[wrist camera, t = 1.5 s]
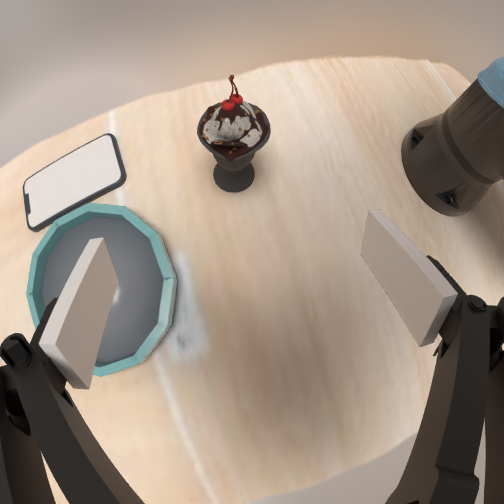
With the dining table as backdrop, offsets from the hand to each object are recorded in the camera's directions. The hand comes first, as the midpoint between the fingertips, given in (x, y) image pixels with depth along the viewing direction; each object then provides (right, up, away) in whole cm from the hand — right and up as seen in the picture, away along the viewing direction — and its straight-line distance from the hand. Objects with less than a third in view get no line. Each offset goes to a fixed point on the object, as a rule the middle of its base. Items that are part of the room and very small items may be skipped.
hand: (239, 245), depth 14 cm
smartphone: (-24, +9, +21) cm, 33 cm away
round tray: (-17, -5, +18) cm, 25 cm away
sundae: (-2, +9, +21) cm, 23 cm away
